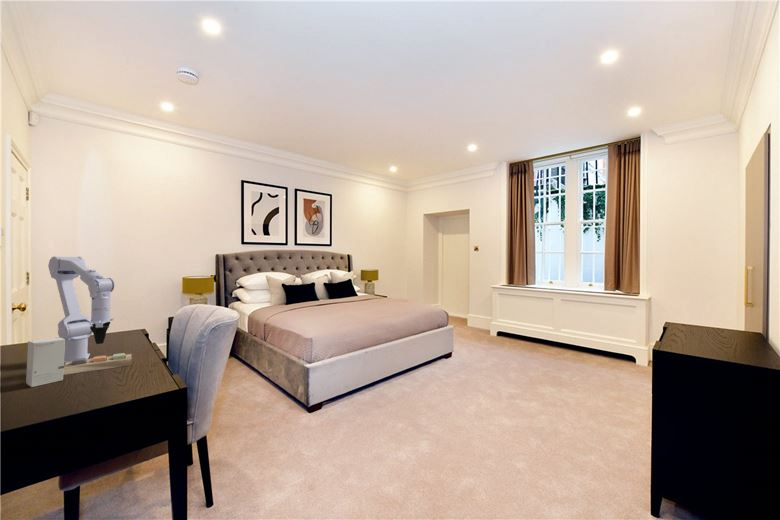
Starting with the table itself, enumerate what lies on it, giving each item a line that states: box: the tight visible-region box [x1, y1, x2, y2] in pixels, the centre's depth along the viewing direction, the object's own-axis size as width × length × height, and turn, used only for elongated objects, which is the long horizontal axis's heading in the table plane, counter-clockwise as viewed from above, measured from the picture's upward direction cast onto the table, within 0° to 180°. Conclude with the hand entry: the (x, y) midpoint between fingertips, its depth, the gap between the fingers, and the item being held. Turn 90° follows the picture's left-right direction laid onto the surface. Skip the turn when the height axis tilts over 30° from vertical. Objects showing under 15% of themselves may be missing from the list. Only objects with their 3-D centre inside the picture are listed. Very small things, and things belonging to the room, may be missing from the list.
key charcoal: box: [72, 358, 86, 365], centre depth 127 cm, size 4×4×2 cm
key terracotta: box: [93, 355, 107, 363], centre depth 131 cm, size 4×4×2 cm
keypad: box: [63, 353, 132, 376], centre depth 131 cm, size 9×20×2 cm, turn 128°
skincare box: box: [25, 336, 65, 388], centre depth 115 cm, size 8×6×15 cm
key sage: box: [112, 352, 126, 360], centre depth 135 cm, size 4×4×2 cm
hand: (100, 342), depth 133 cm, fingers open, 5 cm apart
